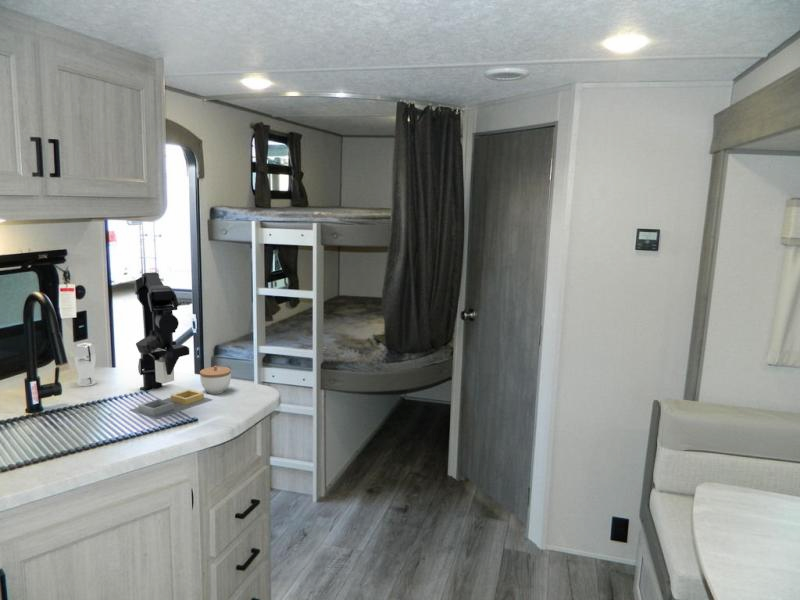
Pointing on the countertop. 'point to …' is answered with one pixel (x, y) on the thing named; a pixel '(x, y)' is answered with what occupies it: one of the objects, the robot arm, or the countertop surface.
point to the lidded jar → (215, 379)
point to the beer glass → (85, 363)
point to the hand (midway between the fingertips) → (164, 373)
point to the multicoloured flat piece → (171, 404)
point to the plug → (162, 372)
